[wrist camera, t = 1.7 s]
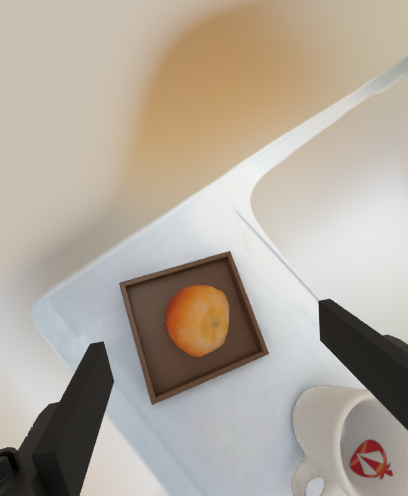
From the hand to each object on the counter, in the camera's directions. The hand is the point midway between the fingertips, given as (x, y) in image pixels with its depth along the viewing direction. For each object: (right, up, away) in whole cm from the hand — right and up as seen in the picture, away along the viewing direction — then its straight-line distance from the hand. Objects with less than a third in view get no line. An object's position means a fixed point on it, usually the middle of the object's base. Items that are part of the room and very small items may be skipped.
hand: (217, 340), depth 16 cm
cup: (+13, -18, +18) cm, 29 cm away
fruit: (-2, -4, +19) cm, 20 cm away
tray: (-2, -4, +19) cm, 20 cm away
